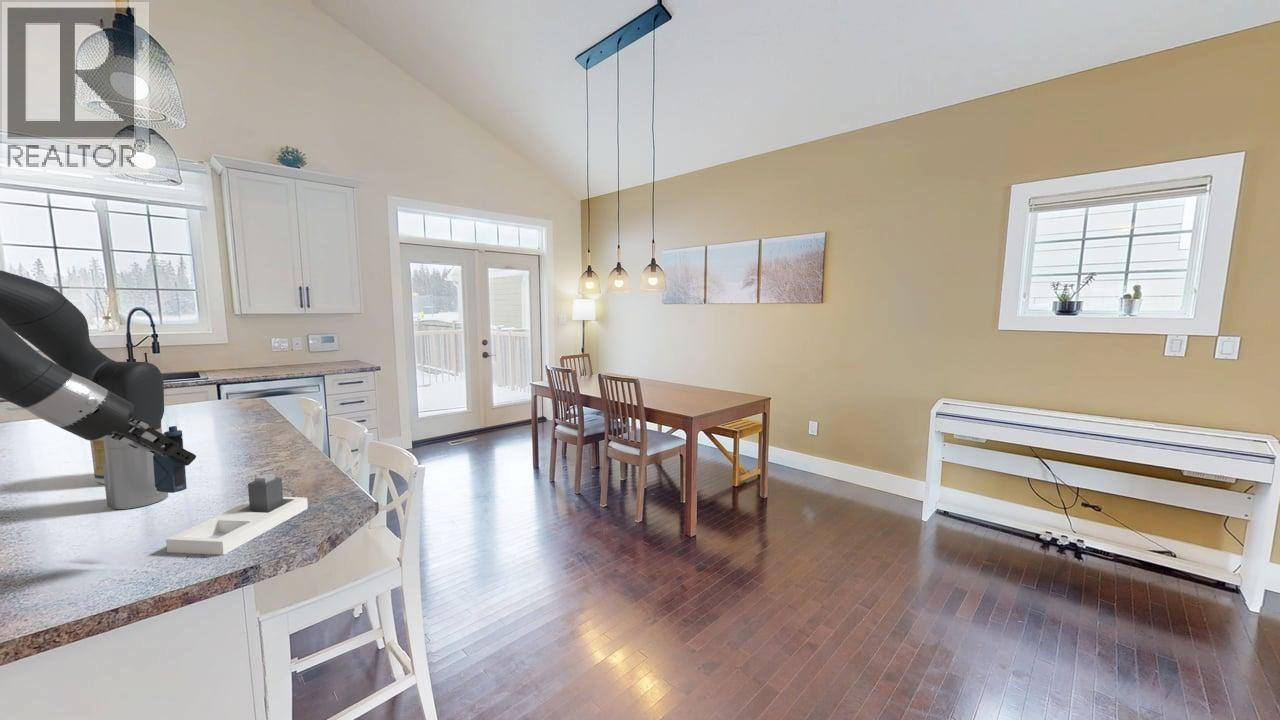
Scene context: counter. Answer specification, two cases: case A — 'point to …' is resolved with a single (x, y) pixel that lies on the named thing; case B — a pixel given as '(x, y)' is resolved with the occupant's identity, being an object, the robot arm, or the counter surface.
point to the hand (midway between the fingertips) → (183, 458)
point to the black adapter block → (265, 493)
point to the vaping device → (169, 467)
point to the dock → (233, 528)
